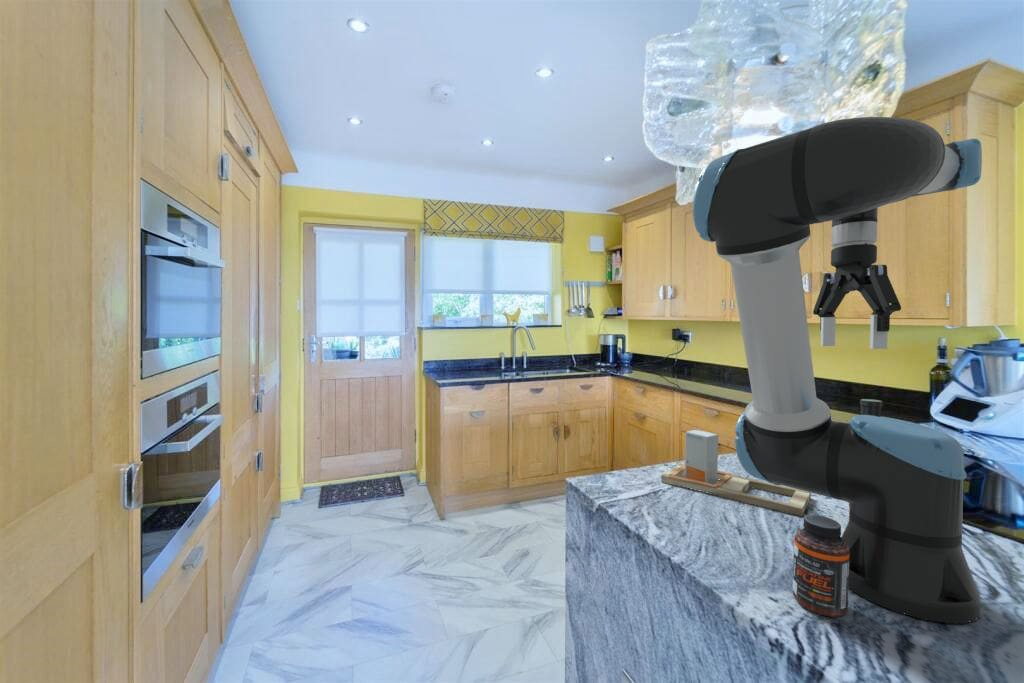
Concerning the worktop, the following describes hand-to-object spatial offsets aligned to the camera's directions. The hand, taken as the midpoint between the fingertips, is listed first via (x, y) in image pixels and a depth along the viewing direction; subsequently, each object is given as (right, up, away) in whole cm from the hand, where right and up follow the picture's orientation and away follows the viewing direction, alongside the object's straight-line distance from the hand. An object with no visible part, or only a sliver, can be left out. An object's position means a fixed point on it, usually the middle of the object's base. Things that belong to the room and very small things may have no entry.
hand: (851, 347), depth 89 cm
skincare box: (-27, -33, +11) cm, 44 cm away
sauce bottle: (+13, -33, +11) cm, 37 cm away
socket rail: (-22, -33, +7) cm, 40 cm away
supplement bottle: (-31, -34, -33) cm, 57 cm away
